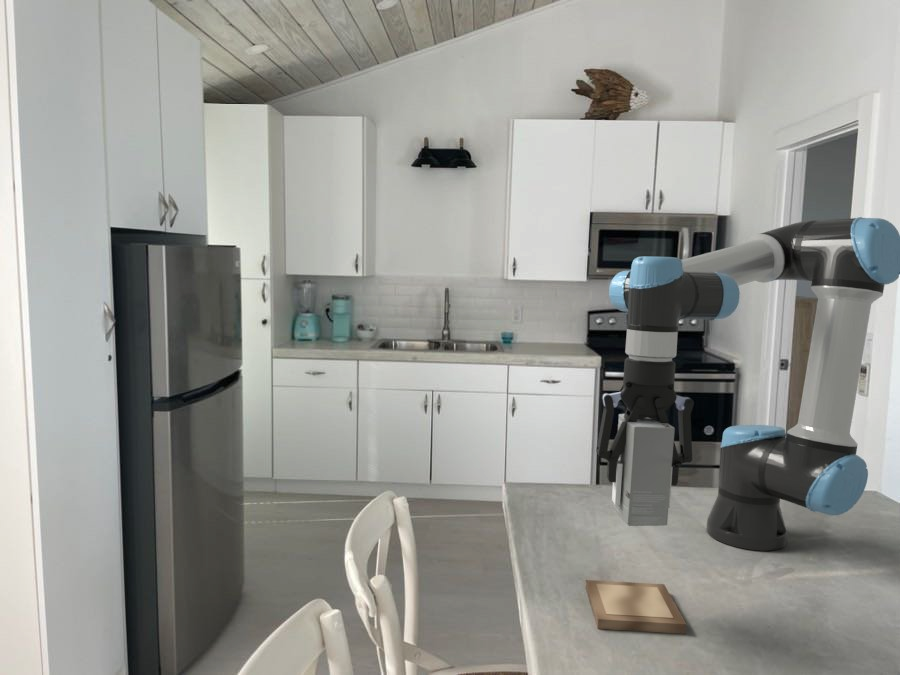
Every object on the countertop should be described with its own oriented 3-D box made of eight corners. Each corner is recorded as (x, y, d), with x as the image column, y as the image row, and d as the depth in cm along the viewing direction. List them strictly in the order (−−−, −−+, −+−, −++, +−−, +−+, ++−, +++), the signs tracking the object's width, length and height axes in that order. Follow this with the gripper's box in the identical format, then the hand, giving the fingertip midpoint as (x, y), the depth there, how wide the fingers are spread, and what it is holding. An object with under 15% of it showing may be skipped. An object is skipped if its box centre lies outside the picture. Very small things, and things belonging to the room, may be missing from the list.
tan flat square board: (663, 592, 115) (664, 583, 114) (685, 633, 102) (686, 623, 101) (585, 588, 115) (586, 579, 115) (597, 628, 102) (598, 618, 102)
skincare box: (611, 509, 111) (612, 413, 109) (654, 507, 111) (656, 412, 110) (627, 528, 103) (629, 424, 101) (674, 526, 103) (676, 423, 101)
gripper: (708, 357, 108) (697, 499, 110) (581, 352, 109) (573, 492, 111) (724, 364, 100) (712, 515, 102) (588, 358, 101) (579, 508, 103)
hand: (640, 503), depth 107 cm, fingers closed on skincare box, 7 cm apart
